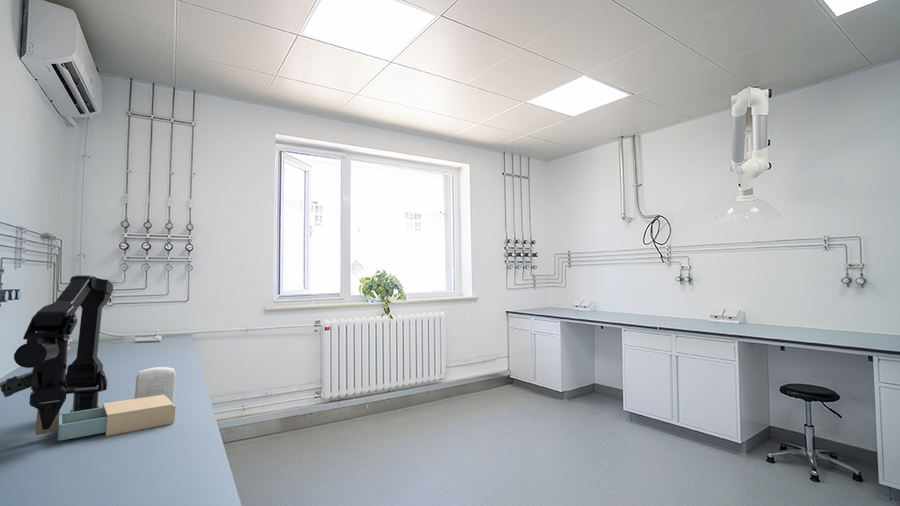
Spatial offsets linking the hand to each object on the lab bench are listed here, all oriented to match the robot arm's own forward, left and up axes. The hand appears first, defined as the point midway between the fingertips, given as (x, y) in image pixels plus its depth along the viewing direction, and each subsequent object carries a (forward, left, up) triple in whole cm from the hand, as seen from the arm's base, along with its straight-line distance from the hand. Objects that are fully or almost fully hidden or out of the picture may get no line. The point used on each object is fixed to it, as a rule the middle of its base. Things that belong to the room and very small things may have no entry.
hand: (46, 424), depth 103 cm
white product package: (-14, +24, -4) cm, 28 cm away
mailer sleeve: (0, +18, -4) cm, 19 cm away
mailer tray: (0, +7, -3) cm, 8 cm away
